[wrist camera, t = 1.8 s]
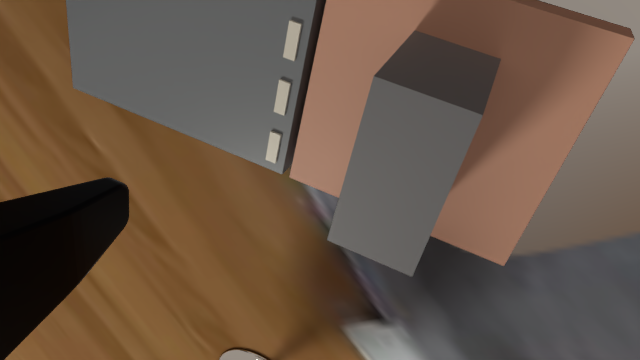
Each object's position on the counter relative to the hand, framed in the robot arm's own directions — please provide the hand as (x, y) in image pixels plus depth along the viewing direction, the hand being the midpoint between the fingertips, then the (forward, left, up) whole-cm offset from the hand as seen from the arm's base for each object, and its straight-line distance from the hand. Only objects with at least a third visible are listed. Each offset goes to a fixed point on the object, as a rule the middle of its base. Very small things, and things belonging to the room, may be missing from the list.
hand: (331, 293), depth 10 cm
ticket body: (-9, 0, -9) cm, 13 cm away
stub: (0, 0, -9) cm, 9 cm away
